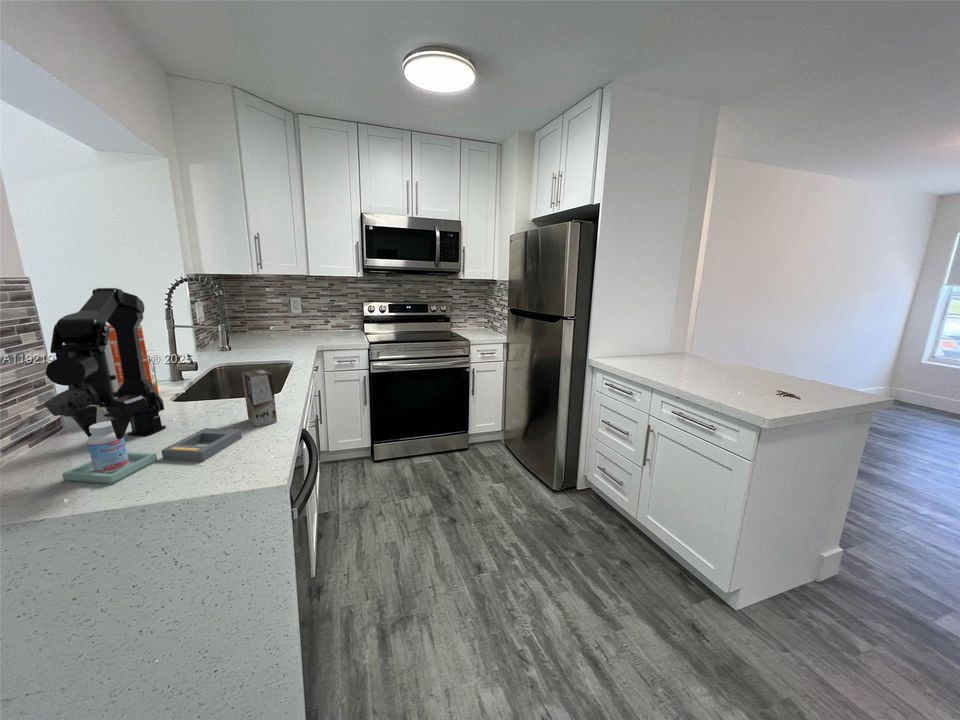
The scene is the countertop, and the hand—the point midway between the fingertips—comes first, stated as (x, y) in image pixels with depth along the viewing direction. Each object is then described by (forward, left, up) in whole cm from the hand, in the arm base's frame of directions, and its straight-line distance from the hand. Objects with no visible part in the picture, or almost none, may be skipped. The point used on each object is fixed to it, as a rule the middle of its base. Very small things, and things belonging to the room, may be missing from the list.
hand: (106, 437), depth 88 cm
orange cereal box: (-34, +35, -9) cm, 50 cm away
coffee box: (+15, +33, -9) cm, 38 cm away
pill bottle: (0, 0, -8) cm, 8 cm away
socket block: (+12, +13, -8) cm, 20 cm away
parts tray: (0, 0, -8) cm, 9 cm away
